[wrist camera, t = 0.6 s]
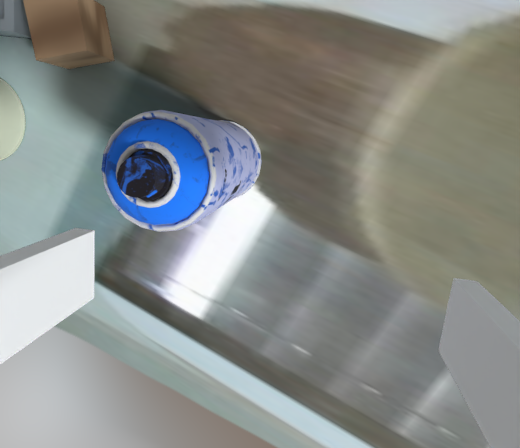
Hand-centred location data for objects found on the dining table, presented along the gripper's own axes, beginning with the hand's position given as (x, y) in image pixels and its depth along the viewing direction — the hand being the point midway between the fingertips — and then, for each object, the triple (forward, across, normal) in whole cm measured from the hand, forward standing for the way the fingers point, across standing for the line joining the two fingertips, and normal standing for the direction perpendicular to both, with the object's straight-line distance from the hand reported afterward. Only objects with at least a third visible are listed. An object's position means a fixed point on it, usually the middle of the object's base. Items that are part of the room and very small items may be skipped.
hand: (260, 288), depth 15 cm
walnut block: (+27, -23, +13) cm, 37 cm away
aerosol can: (+27, -8, +2) cm, 28 cm away
